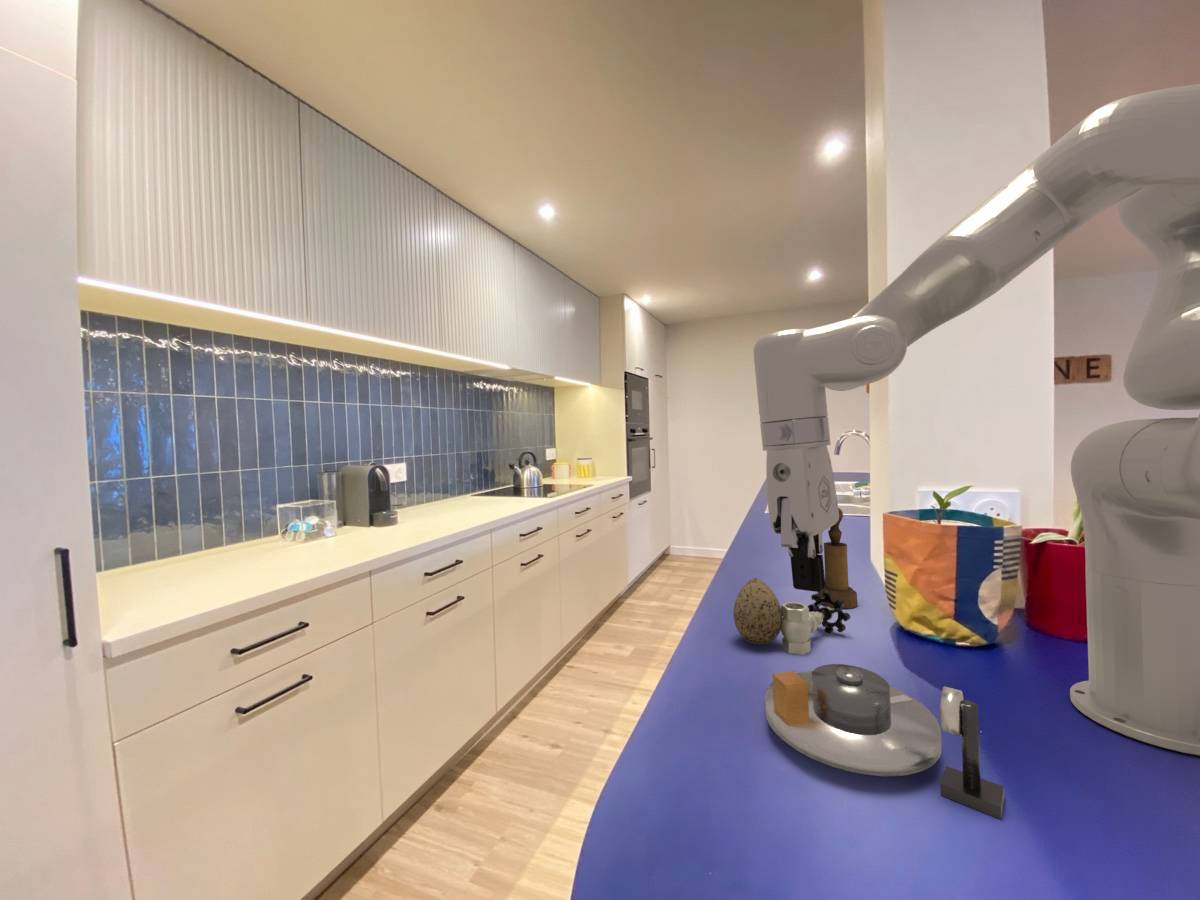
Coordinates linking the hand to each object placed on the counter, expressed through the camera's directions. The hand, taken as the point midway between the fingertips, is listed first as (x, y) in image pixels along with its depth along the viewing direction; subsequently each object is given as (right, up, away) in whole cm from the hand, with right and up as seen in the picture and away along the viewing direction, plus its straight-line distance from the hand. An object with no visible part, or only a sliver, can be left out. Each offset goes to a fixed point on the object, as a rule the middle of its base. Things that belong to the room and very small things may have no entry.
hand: (809, 588), depth 57 cm
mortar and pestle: (+19, -12, +32) cm, 39 cm away
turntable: (+1, -12, -7) cm, 14 cm away
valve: (+7, -13, +16) cm, 22 cm away
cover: (+1, -10, -8) cm, 13 cm away
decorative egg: (-1, -13, +16) cm, 21 cm away
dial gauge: (+7, -13, -16) cm, 22 cm away
